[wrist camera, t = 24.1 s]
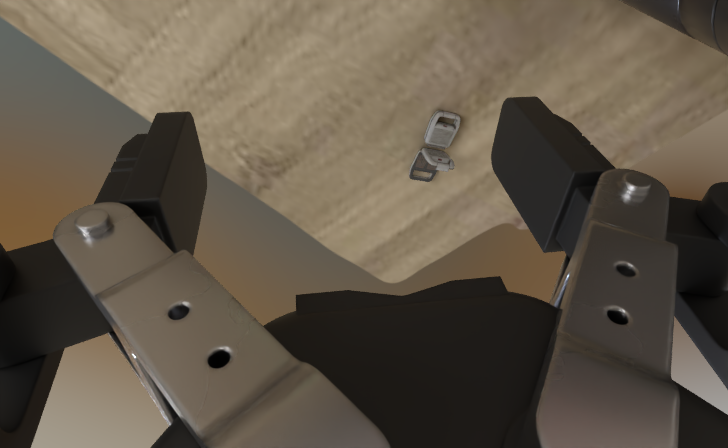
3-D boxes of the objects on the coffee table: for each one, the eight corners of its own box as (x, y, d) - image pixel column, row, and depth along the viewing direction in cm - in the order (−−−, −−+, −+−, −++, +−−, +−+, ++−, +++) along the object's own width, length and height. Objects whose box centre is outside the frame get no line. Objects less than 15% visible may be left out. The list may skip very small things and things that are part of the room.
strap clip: (434, 107, 47) (445, 128, 43) (460, 113, 47) (474, 134, 44) (406, 175, 52) (414, 198, 48) (430, 180, 53) (440, 202, 49)
